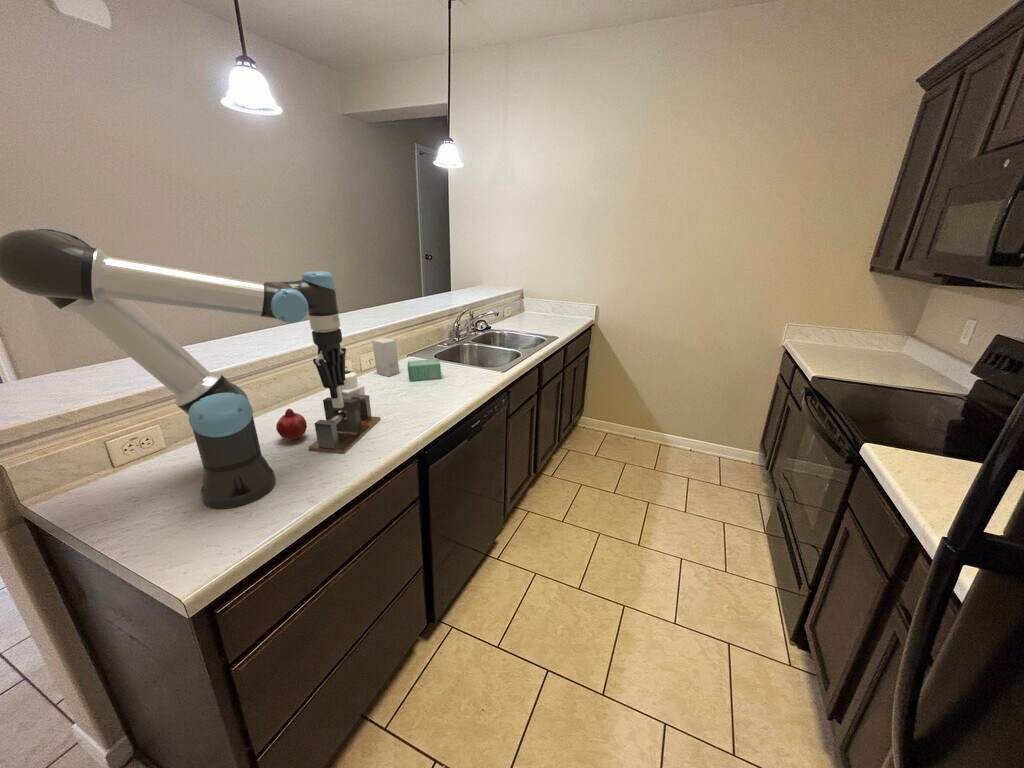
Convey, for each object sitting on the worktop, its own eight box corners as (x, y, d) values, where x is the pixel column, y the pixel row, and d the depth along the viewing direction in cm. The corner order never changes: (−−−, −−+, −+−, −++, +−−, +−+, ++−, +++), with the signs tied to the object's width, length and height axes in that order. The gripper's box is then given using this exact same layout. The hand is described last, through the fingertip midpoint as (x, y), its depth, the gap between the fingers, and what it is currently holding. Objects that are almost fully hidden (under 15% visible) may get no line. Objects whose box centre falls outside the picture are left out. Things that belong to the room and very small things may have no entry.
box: (408, 376, 180) (407, 360, 178) (439, 374, 184) (438, 358, 182) (409, 382, 174) (408, 365, 171) (441, 379, 178) (440, 363, 175)
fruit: (315, 435, 128) (309, 405, 125) (295, 447, 121) (289, 416, 117) (293, 431, 130) (287, 402, 127) (273, 443, 123) (266, 412, 119)
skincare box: (399, 373, 184) (396, 339, 179) (388, 377, 179) (385, 342, 174) (386, 370, 188) (383, 337, 183) (375, 374, 183) (371, 340, 178)
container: (334, 408, 147) (329, 374, 143) (351, 401, 154) (347, 368, 149) (350, 412, 144) (345, 377, 139) (366, 405, 150) (362, 371, 146)
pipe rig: (344, 453, 117) (340, 425, 114) (309, 450, 119) (304, 422, 116) (380, 419, 139) (377, 395, 136) (350, 417, 140) (347, 393, 137)
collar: (357, 432, 125) (353, 402, 122) (327, 430, 127) (322, 400, 123) (361, 429, 128) (357, 399, 124) (332, 426, 129) (327, 397, 126)
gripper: (324, 335, 107) (337, 416, 116) (351, 324, 120) (361, 399, 128) (298, 334, 109) (313, 415, 117) (327, 323, 121) (339, 397, 129)
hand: (338, 406), depth 122 cm, fingers closed
